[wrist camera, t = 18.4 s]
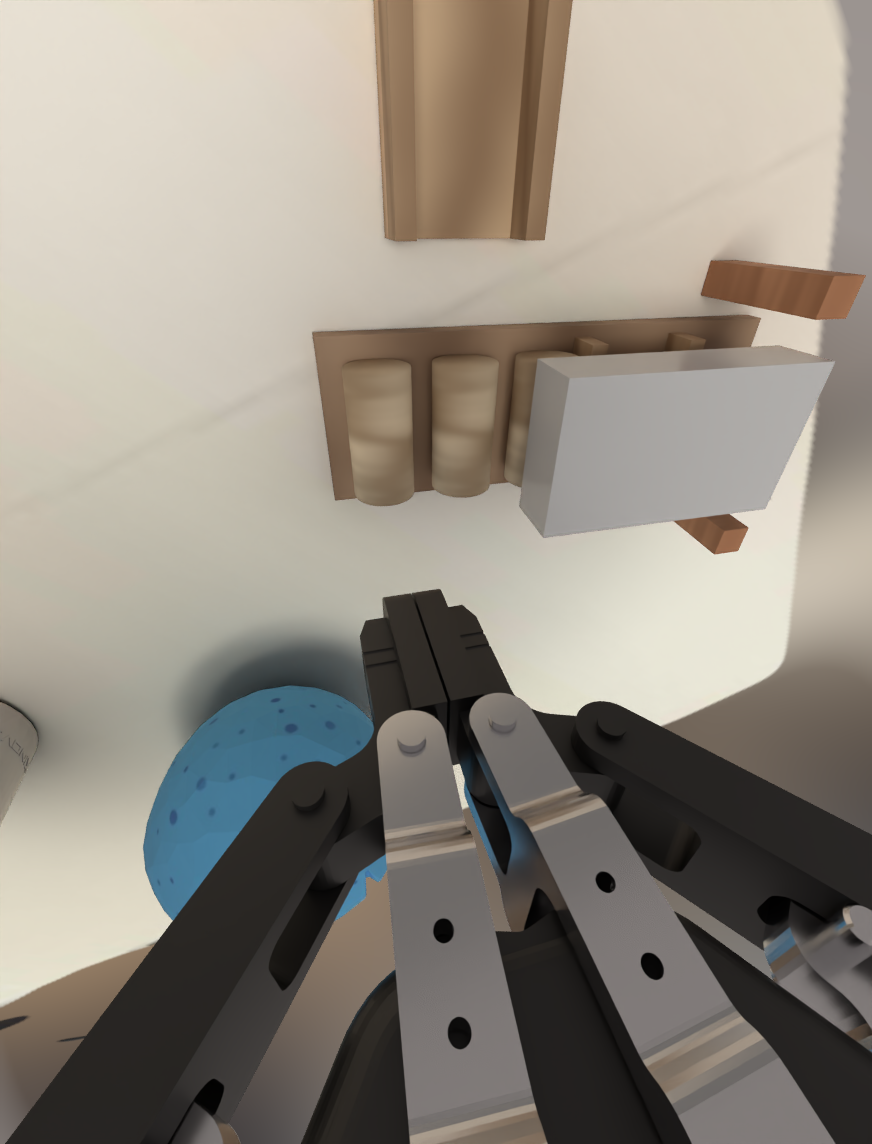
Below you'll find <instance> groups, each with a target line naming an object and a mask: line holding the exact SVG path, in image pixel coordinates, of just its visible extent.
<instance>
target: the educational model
mask: <svg viewBox="0 0 872 1144" xmlns="http://www.w3.org/2000/svg"><path fill="white" fill-rule="evenodd" d="M373 731H374V726H373V722H372V721H371V720H370V719H369V718H368V717H367V716H366V715H365V714H364V713H363V712H362V711H361V710H360V709H359V708H358V707H357V706H356V705H355V704H353V703H351V702H350V701H348V700H346V699H344V698H343V697H341V696H339V695H337V694H334V693H331V692H328V691H325V690H322V689H319V688H314V687H302V686H291V685H290V686H283V687H277V688H271V689H264V690H259V691H256V692H254V693H252V694H249V695H247V696H245V697H242V698H240V699H237V700H235V701H233V702H231V703H230V704H228V705H227V706H225V707H224V708H222V709H221V710H219V711H218V712H217V713H216V714H214V715H213V716H212V717H211V718H209V719H208V720H207V721H206V722H204V723H203V724H202V725H201V726H200V727H199V728H198V729H197V730H196V732H195V733H194V734H193V735H192V737H191V738H190V739H189V740H188V742H187V743H186V744H185V745H184V747H183V748H182V749H181V750H180V751H179V753H178V754H177V755H176V757H175V759H174V761H173V763H172V764H171V766H170V768H169V770H168V772H167V774H166V776H165V778H164V780H163V782H162V784H161V786H160V788H159V791H158V793H157V796H156V799H155V802H154V804H153V807H152V810H151V813H150V816H149V819H148V822H147V827H146V833H145V839H144V845H143V850H144V860H145V870H146V873H147V876H148V878H149V881H150V884H151V886H152V889H153V892H154V894H155V896H156V897H157V899H158V901H159V903H160V904H161V906H162V908H163V910H164V911H165V912H166V913H167V914H168V916H169V917H170V918H171V919H172V920H174V919H175V917H176V916H177V915H178V913H179V912H180V911H181V909H182V908H183V907H184V905H185V904H186V903H187V901H188V900H189V899H190V898H191V896H192V895H193V894H194V892H195V891H196V890H197V888H198V887H199V886H200V884H201V883H202V882H203V880H204V879H205V878H206V876H207V875H208V874H209V872H210V871H211V870H212V868H213V867H214V866H215V864H216V863H217V862H218V860H219V859H220V858H221V856H222V855H223V854H224V852H225V851H226V850H227V848H228V847H229V846H230V844H231V843H232V842H233V840H234V839H235V838H236V836H237V835H238V834H239V832H240V831H241V830H242V828H243V827H244V826H245V824H246V823H247V822H248V820H249V819H250V818H251V816H252V815H253V814H254V812H255V811H256V810H257V809H258V807H259V806H260V805H261V803H262V802H263V801H264V799H265V798H266V797H267V795H268V794H269V793H270V791H271V790H272V789H273V787H274V786H275V785H276V783H277V782H278V781H279V780H280V778H281V777H282V776H283V775H284V774H285V773H287V772H288V771H289V770H291V769H292V768H294V767H296V766H298V765H300V764H303V763H306V762H312V761H320V762H326V763H329V764H331V765H333V766H337V765H338V764H340V763H342V762H344V761H346V760H347V759H349V758H351V757H353V756H354V755H356V754H357V753H358V752H360V751H361V750H362V749H363V748H364V747H365V746H366V745H367V743H368V742H369V740H370V739H371V737H372V734H373ZM386 871H387V863H386V854H385V855H384V856H382V857H381V858H379V859H378V860H376V861H375V862H373V863H372V864H371V865H369V866H368V867H366V868H365V869H363V870H362V871H360V872H359V874H358V876H357V878H356V880H355V882H354V884H353V886H352V888H351V890H350V892H349V894H348V896H347V898H346V899H345V901H344V903H343V905H342V907H341V909H340V911H339V913H338V915H337V917H336V919H335V920H337V919H339V918H340V917H342V916H343V915H345V914H346V913H347V912H348V911H350V910H351V909H352V908H354V907H355V906H356V905H357V904H359V903H360V902H361V901H362V900H364V899H365V897H366V877H371V878H372V879H374V880H375V881H377V882H379V881H381V879H382V877H383V876H384V874H385V872H386Z"/></svg>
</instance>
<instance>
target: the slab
mask: <svg viewBox="0 0 872 1144" xmlns="http://www.w3.org/2000/svg"><path fill="white" fill-rule="evenodd" d="M834 363H835V361H832V360H829V359H825V358H822V357H818V356H815V355H811V354H807V353H804V352H800V351H797V350H793V349H790V348H786V347H783V346H779V345H778V346H760V347H742V348H724V349H705V350H687V351H669V352H651V353H633V354H614V355H596V356H578V357H560V358H541V359H538V360H537V368H536V376H535V384H534V392H533V400H532V409H531V417H530V425H529V433H528V441H527V449H526V457H525V465H524V473H523V481H522V489H521V497H520V505H519V506H520V508H521V509H522V510H523V512H524V513H525V514H526V516H527V517H528V518H529V520H530V521H531V522H532V524H533V525H534V526H535V528H536V529H537V530H538V532H539V533H540V534H541V536H542V537H543V538H546V537H553V536H561V535H569V534H576V533H584V532H592V531H600V530H607V529H615V528H623V527H630V526H638V525H646V524H654V523H661V522H669V521H677V520H684V519H692V518H700V517H708V516H715V515H723V514H731V513H738V512H746V511H754V510H762V509H765V508H766V506H767V504H768V502H769V500H770V498H771V496H772V494H773V492H774V489H775V487H776V485H777V483H778V481H779V479H780V477H781V475H782V473H783V471H784V468H785V466H786V464H787V462H788V460H789V458H790V456H791V454H792V452H793V450H794V447H795V445H796V443H797V441H798V439H799V437H800V435H801V433H802V431H803V429H804V426H805V424H806V422H807V420H808V418H809V416H810V414H811V412H812V410H813V408H814V405H815V403H816V401H817V399H818V397H819V395H820V393H821V391H822V389H823V386H824V384H825V382H826V380H827V378H828V376H829V374H830V372H831V370H832V368H833V365H834Z"/></svg>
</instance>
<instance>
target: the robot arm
mask: <svg viewBox="0 0 872 1144" xmlns="http://www.w3.org/2000/svg"><path fill="white" fill-rule="evenodd" d="M383 615H384V618H380V619H373V620H367V621H366V622H365V624H364V627H363V630H362V632H361V635H360V640H361V649H362V657H363V665H364V673H365V680H366V686H367V692H368V698H369V703H370V709H371V715H372V721H373V726H374V731H373V734H372V737H371V739H370V740H369V742H368V743H367V745H366V746H365V747H364V748H363V749H362V750H361V751H360V752H358V753H357V754H356V755H354V756H353V757H351V758H349V759H347V760H346V761H344V762H342V763H340V764H338V765H337V766H333V765H331V764H329V763H326V762H320V761H312V762H306V763H303V764H300V765H298V766H296V767H294V768H292V769H291V770H289V771H288V772H287V773H285V774H284V775H283V776H282V777H281V778H280V780H279V781H278V782H277V783H276V785H275V786H274V787H273V789H272V790H271V791H270V793H269V794H268V795H267V797H266V798H265V799H264V801H263V802H262V803H261V805H260V806H259V807H258V809H257V810H256V811H255V812H254V814H253V815H252V816H251V818H250V819H249V820H248V822H247V823H246V824H245V826H244V827H243V828H242V830H241V831H240V832H239V834H238V835H237V836H236V838H235V839H234V840H233V842H232V843H231V844H230V846H229V847H228V848H227V850H226V851H225V852H224V854H223V855H222V856H221V858H220V859H219V860H218V862H217V863H216V864H215V866H214V867H213V868H212V870H211V871H210V872H209V874H208V875H207V876H206V878H205V879H204V880H203V882H202V883H201V884H200V886H199V887H198V888H197V890H196V891H195V892H194V894H193V895H192V896H191V898H190V899H189V900H188V901H187V903H186V904H185V905H184V907H183V908H182V909H181V911H180V912H179V913H178V915H177V916H176V917H175V919H174V920H173V921H172V923H171V924H170V925H169V927H168V928H167V929H166V931H165V932H164V933H163V935H162V936H161V937H160V939H159V940H158V941H157V943H156V944H155V945H154V947H153V948H152V949H151V951H150V952H149V953H148V955H147V956H146V957H145V959H144V960H143V962H142V963H141V964H140V965H139V967H138V968H137V969H136V971H135V972H134V973H133V975H132V976H131V977H130V979H129V980H128V981H127V983H126V984H125V985H124V987H123V988H122V989H121V990H120V992H119V993H118V995H117V996H116V997H115V998H114V1000H113V1001H112V1002H111V1004H110V1005H109V1007H108V1008H107V1009H106V1011H105V1012H104V1013H103V1014H102V1016H101V1017H100V1019H99V1020H98V1021H97V1022H96V1024H95V1025H94V1027H93V1028H92V1029H91V1031H90V1032H89V1033H88V1034H87V1036H86V1037H85V1038H84V1040H83V1041H82V1042H81V1044H80V1045H79V1046H78V1048H77V1049H76V1050H75V1052H74V1053H73V1054H72V1056H71V1057H70V1058H69V1060H68V1061H67V1062H66V1064H65V1065H64V1066H63V1068H62V1069H61V1070H60V1072H59V1073H58V1074H57V1076H56V1077H55V1078H54V1079H53V1081H52V1082H51V1083H50V1085H49V1086H48V1088H47V1089H46V1090H45V1092H44V1093H43V1094H42V1095H41V1097H40V1098H39V1100H38V1101H37V1102H36V1104H35V1105H34V1106H33V1107H32V1109H31V1110H30V1111H29V1113H28V1114H27V1115H26V1117H25V1118H24V1119H23V1121H22V1122H21V1123H20V1125H19V1126H18V1127H17V1129H16V1130H15V1131H14V1133H13V1134H12V1135H11V1137H10V1138H9V1139H8V1141H7V1142H6V1143H5V1144H241V1143H240V1141H239V1138H238V1136H237V1134H236V1133H235V1131H234V1129H233V1128H232V1127H231V1126H230V1125H229V1122H230V1120H231V1118H232V1116H233V1114H234V1112H235V1110H236V1108H237V1106H238V1104H239V1102H240V1101H241V1099H242V1097H243V1095H244V1093H245V1091H246V1089H247V1087H248V1085H249V1083H250V1081H251V1079H252V1077H253V1075H254V1074H255V1072H256V1070H257V1068H258V1066H259V1064H260V1062H261V1060H262V1058H263V1056H264V1055H265V1053H266V1051H267V1049H268V1047H269V1045H270V1043H271V1041H272V1039H273V1037H274V1035H275V1034H276V1031H277V1030H278V1028H279V1026H280V1024H281V1022H282V1020H283V1018H284V1016H285V1014H286V1012H287V1011H288V1009H289V1007H290V1005H291V1003H292V1001H293V999H294V997H295V995H296V993H297V991H298V989H299V988H300V986H301V984H302V982H303V980H304V978H305V976H306V974H307V972H308V970H309V968H310V966H311V964H312V962H313V961H314V959H315V957H316V955H317V953H318V951H319V949H320V947H321V945H322V943H323V941H324V940H325V938H326V936H327V934H328V932H329V930H330V928H331V926H332V924H333V922H334V921H335V919H336V917H337V915H338V913H339V911H340V909H341V907H342V905H343V903H344V901H345V899H346V898H347V896H348V894H349V892H350V890H351V888H352V886H353V884H354V882H355V880H356V878H357V876H358V874H359V872H360V871H362V870H363V869H365V868H366V867H368V866H369V865H371V864H372V863H373V862H375V861H376V860H378V859H379V858H381V857H382V856H384V855H385V854H386V863H387V873H388V886H389V899H390V910H391V922H392V934H393V946H394V958H395V970H394V971H392V972H391V973H390V974H389V975H388V976H387V977H386V978H385V979H384V980H383V981H381V982H380V983H379V984H378V986H377V987H376V988H375V989H374V990H373V991H372V993H371V994H370V995H369V996H368V997H367V999H366V1000H365V1002H364V1004H363V1005H362V1006H361V1008H360V1009H359V1011H358V1012H357V1014H356V1015H355V1017H354V1019H353V1021H352V1023H351V1025H350V1026H349V1029H348V1030H347V1032H346V1034H345V1037H344V1039H343V1042H342V1044H341V1046H340V1048H339V1051H338V1054H337V1056H336V1058H335V1061H334V1063H333V1066H332V1068H331V1071H330V1073H329V1076H328V1078H327V1081H326V1083H325V1086H324V1088H323V1091H322V1093H321V1095H320V1098H319V1100H318V1103H317V1105H316V1108H315V1110H314V1113H313V1115H312V1118H311V1120H310V1123H309V1125H308V1128H307V1130H306V1133H305V1135H304V1138H303V1140H302V1142H301V1144H872V835H871V834H869V833H867V832H865V831H863V830H861V829H860V828H857V827H856V826H854V825H852V824H850V823H848V822H846V821H844V820H842V819H840V818H838V817H836V816H834V815H832V814H830V813H828V812H826V811H824V810H823V809H820V808H819V807H817V806H814V805H813V804H811V803H809V802H807V801H805V800H803V799H801V798H799V797H797V796H795V795H793V794H791V793H789V792H787V791H785V790H783V789H782V788H779V787H778V786H776V785H774V784H772V783H770V782H768V781H766V780H764V779H762V778H760V777H758V776H756V775H754V774H752V773H750V772H748V771H746V770H744V769H742V768H741V767H738V766H737V765H735V764H733V763H731V762H729V761H727V760H725V759H723V758H721V757H719V756H717V755H715V754H713V753H711V752H709V751H708V750H706V749H704V748H702V747H700V746H698V745H696V744H694V743H692V742H690V741H688V740H686V739H684V738H682V737H680V736H678V735H676V734H674V733H672V732H670V731H669V730H667V729H665V728H663V727H661V726H659V725H657V724H655V723H653V722H651V721H649V720H647V719H645V718H643V717H641V716H639V715H637V714H635V713H634V712H632V711H630V710H628V709H626V708H624V707H622V706H619V705H617V704H614V703H611V702H604V701H598V702H592V703H589V704H587V705H585V706H583V707H582V708H581V709H580V710H579V712H578V714H577V716H568V715H557V714H547V713H542V712H539V711H536V710H533V709H531V708H530V707H529V706H528V705H527V704H526V703H525V702H524V701H523V700H521V699H520V698H518V697H516V696H515V695H514V694H513V692H512V690H511V688H510V686H509V684H508V682H507V680H506V678H505V676H504V674H503V672H502V670H501V668H500V665H499V663H498V661H497V659H496V657H495V655H494V653H493V651H492V649H491V647H490V646H489V642H488V640H487V638H486V636H485V634H483V630H482V628H481V626H480V624H479V622H478V620H477V617H476V616H475V615H474V614H472V613H471V612H470V611H469V610H468V609H466V608H465V607H464V606H463V605H460V606H453V607H448V606H447V603H446V601H445V598H444V596H443V594H442V592H441V590H440V589H436V590H429V591H422V592H416V593H412V595H411V594H404V595H397V596H390V597H384V598H383ZM37 745H38V736H37V732H36V730H35V729H34V727H33V725H32V724H31V722H30V721H29V720H28V719H26V718H25V717H24V716H23V715H22V714H21V713H19V712H18V711H16V710H15V709H13V708H12V707H10V706H8V705H6V704H4V703H2V702H0V825H1V823H2V821H3V819H4V817H5V815H6V813H7V811H8V809H9V806H10V805H11V802H12V800H13V798H14V796H15V794H16V792H17V790H18V788H19V786H20V783H21V781H22V779H23V777H24V775H25V773H26V771H27V769H28V767H29V765H30V762H31V760H32V758H33V756H34V754H35V752H36V750H37ZM456 764H460V766H461V769H462V772H463V775H464V778H465V784H464V793H465V797H466V800H467V803H468V805H469V808H470V810H471V813H472V815H473V818H474V820H475V823H476V825H477V828H478V830H479V833H480V836H481V838H482V840H483V843H484V846H485V848H486V850H487V853H488V856H489V858H490V861H491V863H492V866H493V869H494V871H495V874H496V876H497V879H498V882H499V886H500V890H501V897H502V902H503V907H504V911H505V914H506V918H507V921H508V923H509V927H510V929H511V932H501V931H498V932H497V931H495V928H494V924H493V920H492V916H491V911H490V906H489V902H488V898H487V893H486V890H485V885H484V880H483V876H482V871H481V867H480V863H479V858H478V854H477V850H476V846H475V842H474V839H473V836H472V834H471V832H470V831H469V830H468V829H467V827H466V824H465V820H464V816H463V812H462V807H461V802H460V798H459V793H458V789H457V784H456V780H455V775H454V771H453V766H452V765H456ZM652 876H653V877H654V878H656V879H657V880H659V881H661V882H662V883H664V884H665V885H666V886H668V887H669V888H671V889H672V890H674V891H676V892H677V893H678V894H680V895H681V896H683V897H684V898H686V899H687V900H689V901H690V902H692V903H693V904H695V905H696V906H698V907H699V908H701V909H702V910H704V911H705V912H707V913H709V914H710V915H711V916H713V917H714V918H716V919H717V920H719V921H720V922H722V923H723V924H725V925H726V926H728V927H729V928H731V929H732V930H734V931H735V932H737V933H738V934H740V935H741V936H743V937H744V938H746V939H747V940H749V941H750V942H751V943H753V944H755V945H756V946H758V947H759V948H760V949H762V950H764V951H765V955H766V958H767V961H768V964H769V966H770V972H771V976H772V979H773V980H771V979H770V978H769V977H768V976H766V975H765V974H763V973H762V972H761V971H759V970H758V969H757V968H755V967H754V966H752V965H751V964H750V963H748V962H747V961H745V960H744V959H743V958H741V957H740V956H739V955H737V954H736V953H734V952H733V951H732V950H730V949H729V948H728V947H726V946H725V945H723V944H722V943H720V942H719V941H718V940H716V939H715V938H714V937H712V936H711V935H710V934H708V933H707V932H706V931H704V930H703V929H701V928H700V927H699V926H697V925H696V924H694V923H693V922H691V921H690V920H689V919H687V918H685V917H683V916H682V915H680V914H678V913H676V912H675V911H673V910H672V908H671V906H670V905H669V903H668V902H667V900H666V898H665V897H664V896H663V894H662V892H661V891H660V889H659V888H658V886H657V884H656V883H655V881H654V879H653V878H652Z"/></svg>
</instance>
